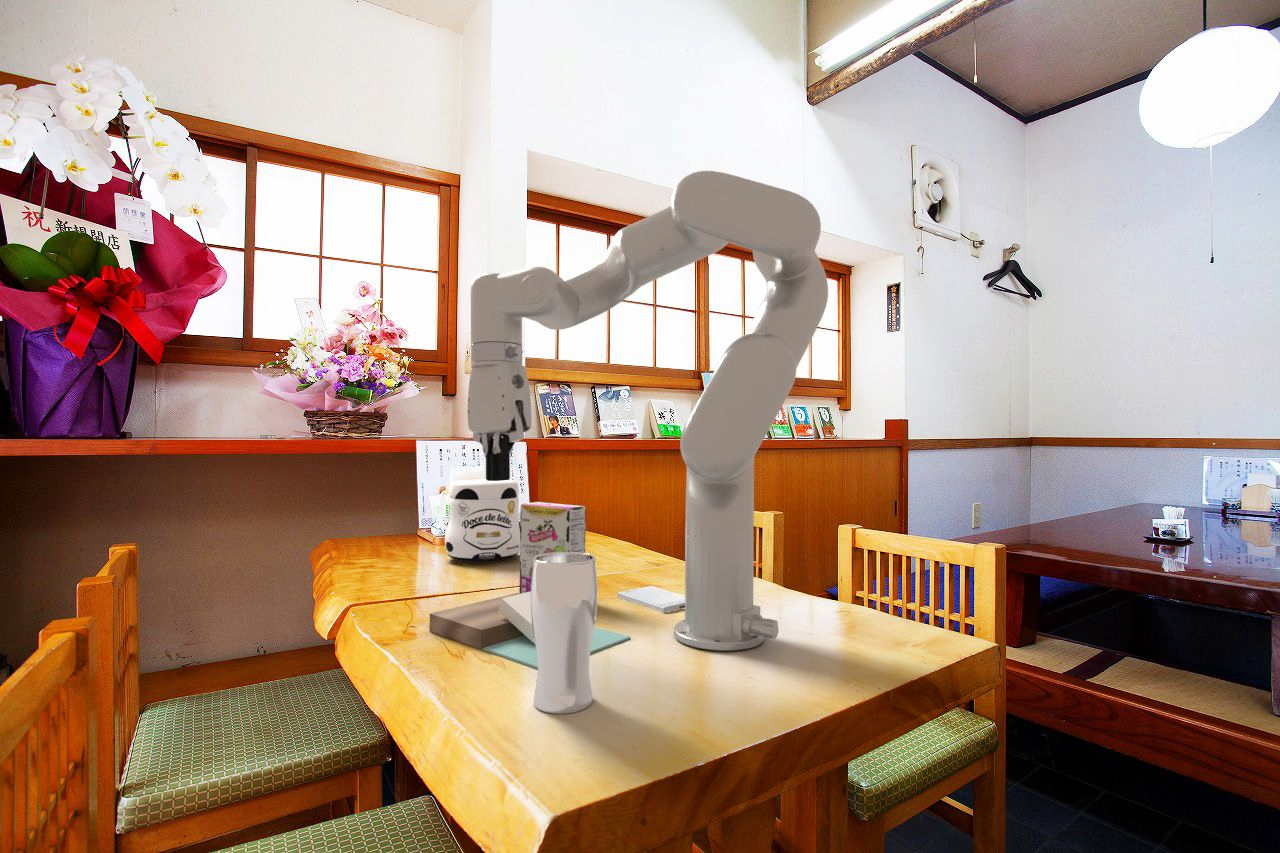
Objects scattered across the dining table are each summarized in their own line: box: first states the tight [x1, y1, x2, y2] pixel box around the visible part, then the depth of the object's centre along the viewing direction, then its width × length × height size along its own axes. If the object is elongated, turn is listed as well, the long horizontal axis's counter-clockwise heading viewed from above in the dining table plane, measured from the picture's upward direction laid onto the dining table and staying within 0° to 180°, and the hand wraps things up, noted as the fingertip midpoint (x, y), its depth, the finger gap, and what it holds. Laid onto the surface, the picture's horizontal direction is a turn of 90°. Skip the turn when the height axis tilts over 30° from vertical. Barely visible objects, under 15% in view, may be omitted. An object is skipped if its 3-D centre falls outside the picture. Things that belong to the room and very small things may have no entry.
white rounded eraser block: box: [498, 591, 535, 644], centre depth 85 cm, size 9×6×2 cm, turn 50°
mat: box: [482, 626, 631, 670], centre depth 82 cm, size 12×16×1 cm
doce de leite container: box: [444, 479, 520, 563], centre depth 142 cm, size 17×17×18 cm
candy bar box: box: [518, 501, 587, 594], centre depth 106 cm, size 11×5×16 cm, turn 58°
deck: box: [429, 592, 524, 650], centre depth 90 cm, size 12×16×2 cm
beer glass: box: [531, 552, 599, 715], centre depth 64 cm, size 7×7×15 cm
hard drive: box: [617, 585, 685, 614], centre depth 105 cm, size 2×8×12 cm
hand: (498, 480), depth 92 cm, fingers closed
